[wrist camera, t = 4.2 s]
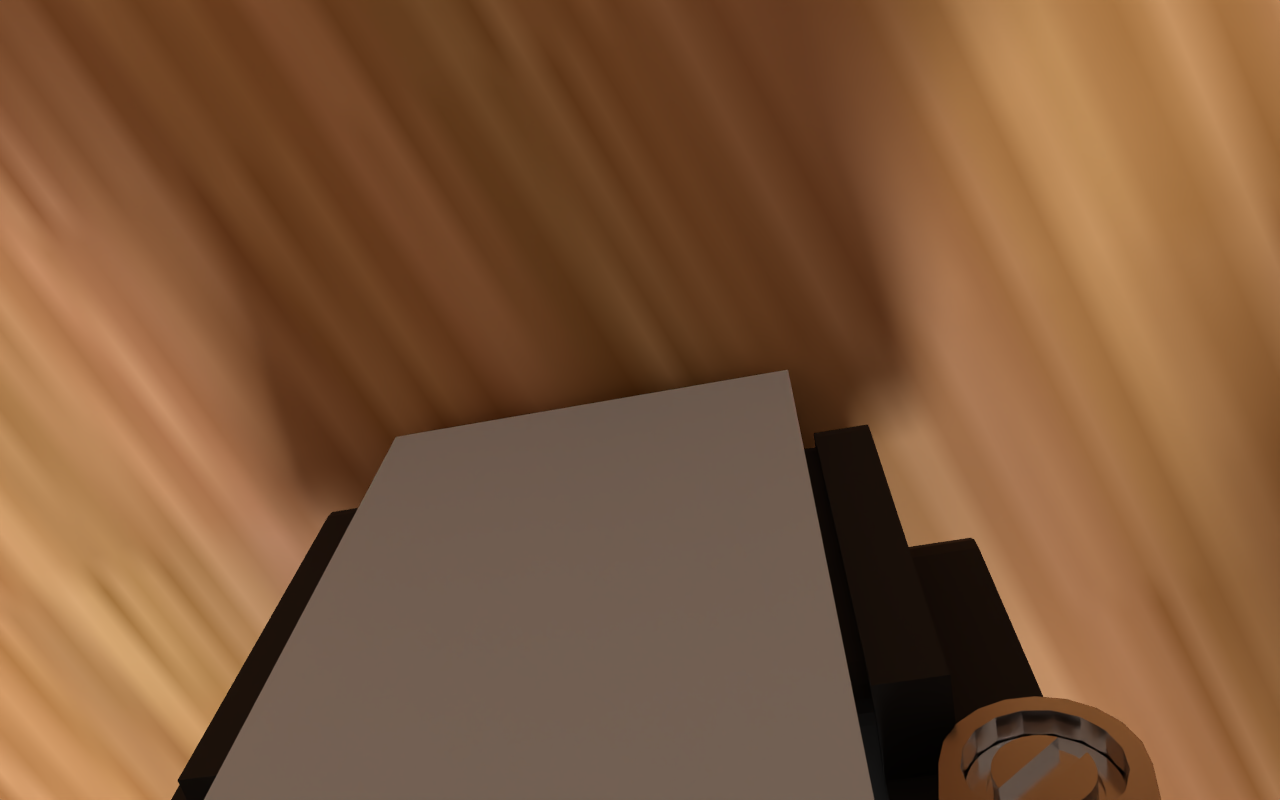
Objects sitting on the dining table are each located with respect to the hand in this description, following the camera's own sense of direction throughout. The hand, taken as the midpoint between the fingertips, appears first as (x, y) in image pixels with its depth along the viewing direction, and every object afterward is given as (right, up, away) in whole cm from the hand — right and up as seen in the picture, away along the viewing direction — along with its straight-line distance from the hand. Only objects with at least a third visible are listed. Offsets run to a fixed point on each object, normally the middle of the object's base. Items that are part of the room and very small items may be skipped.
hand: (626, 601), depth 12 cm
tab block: (0, 0, +1) cm, 1 cm away
